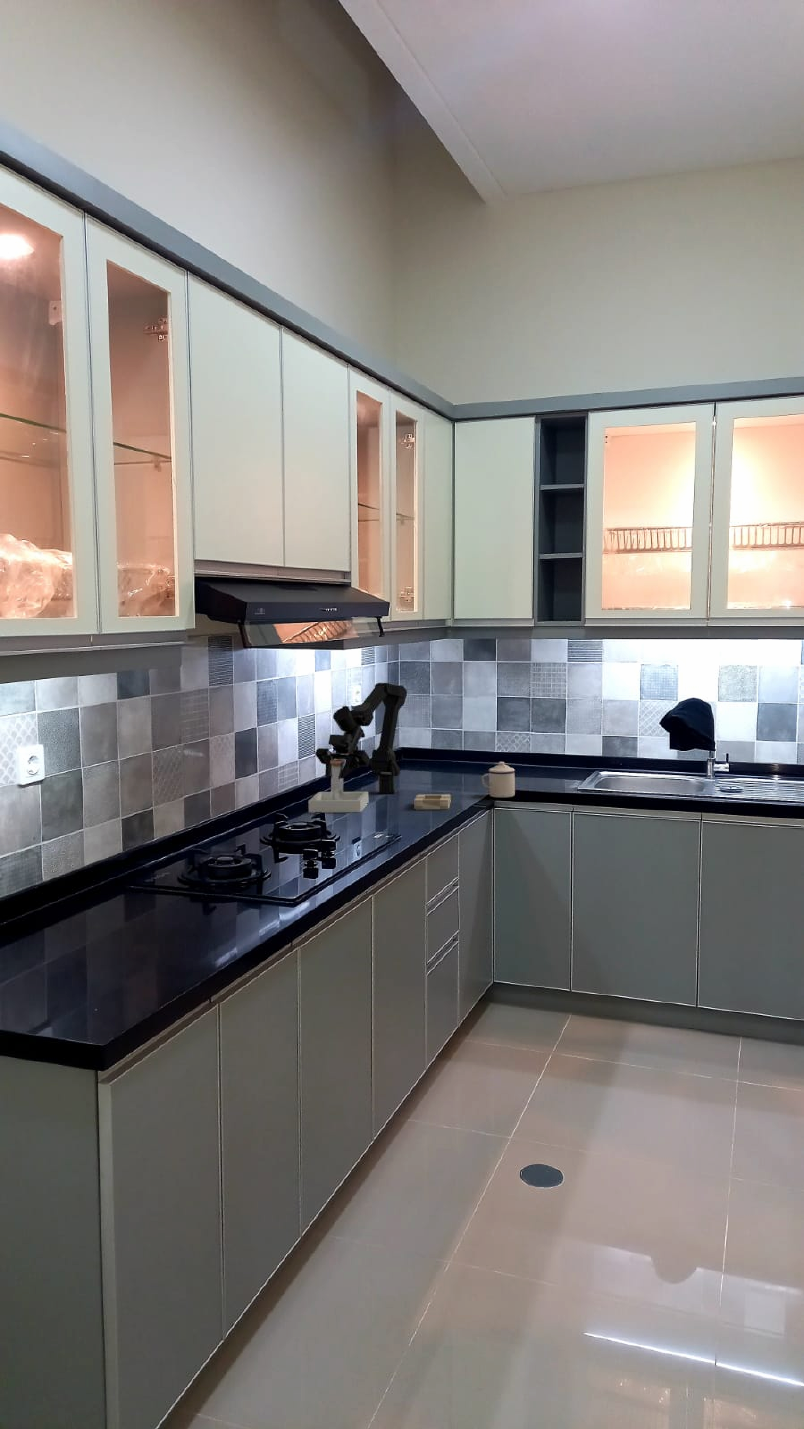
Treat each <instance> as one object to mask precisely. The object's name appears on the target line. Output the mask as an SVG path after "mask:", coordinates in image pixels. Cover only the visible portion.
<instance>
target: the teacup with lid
mask: <svg viewBox="0 0 804 1429" xmlns="http://www.w3.org/2000/svg"><path fill="white" fill-rule="evenodd" d="M515 772H516V769H514V768H513V767H510V766H509V765H507V764H505V762H504V761H499V762H498V764H497V765H495V766H494V767H491V768H489V769H488V773H485V774H484V775H483V776H482V777H481V782H482V784H483V786H484V787H485V788H487V789H489V796H490V797H491V798H492V797H493V798H498V799H499V798H500V799H501V798H512V797H514V796H515V794H516V789H515V788H516V787H515V786H516V784H515V781H516V780H515ZM486 777H488V779H489V785H488V784H487V783H486V780H485V779H486Z"/></svg>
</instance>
